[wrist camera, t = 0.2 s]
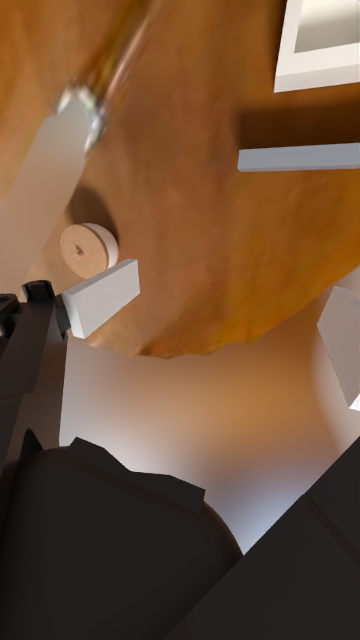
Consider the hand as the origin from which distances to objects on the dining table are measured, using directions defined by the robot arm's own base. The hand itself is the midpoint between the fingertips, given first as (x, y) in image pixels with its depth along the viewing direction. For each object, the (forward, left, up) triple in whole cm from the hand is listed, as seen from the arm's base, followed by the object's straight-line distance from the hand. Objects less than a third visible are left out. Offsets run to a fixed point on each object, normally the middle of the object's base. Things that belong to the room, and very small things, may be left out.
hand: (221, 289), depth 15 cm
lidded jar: (+5, -30, -28) cm, 41 cm away
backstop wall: (-9, +6, -28) cm, 30 cm away
